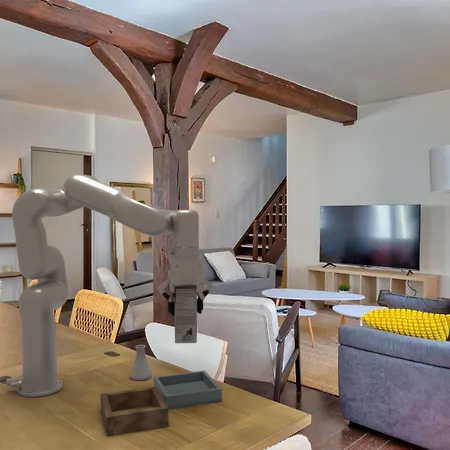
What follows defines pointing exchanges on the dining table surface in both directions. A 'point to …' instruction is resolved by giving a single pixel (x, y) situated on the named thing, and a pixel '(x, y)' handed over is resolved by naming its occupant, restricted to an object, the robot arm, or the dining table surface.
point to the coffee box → (186, 314)
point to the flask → (140, 365)
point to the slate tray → (188, 389)
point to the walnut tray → (135, 418)
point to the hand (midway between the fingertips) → (185, 313)
